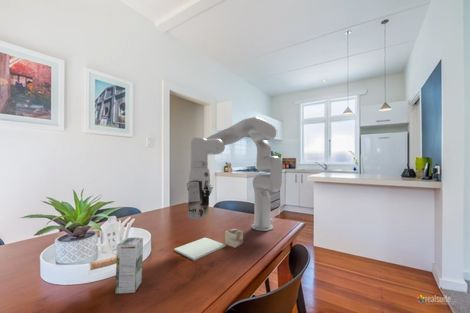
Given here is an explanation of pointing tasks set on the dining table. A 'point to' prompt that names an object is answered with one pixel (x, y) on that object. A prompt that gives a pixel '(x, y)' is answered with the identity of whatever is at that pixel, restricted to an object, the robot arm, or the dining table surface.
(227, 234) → the birch cube
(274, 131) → the robot arm
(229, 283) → the dining table surface
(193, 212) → the coffee box
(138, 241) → the syrup box
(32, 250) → the dining table surface
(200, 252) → the sage mat
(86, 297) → the dining table surface
